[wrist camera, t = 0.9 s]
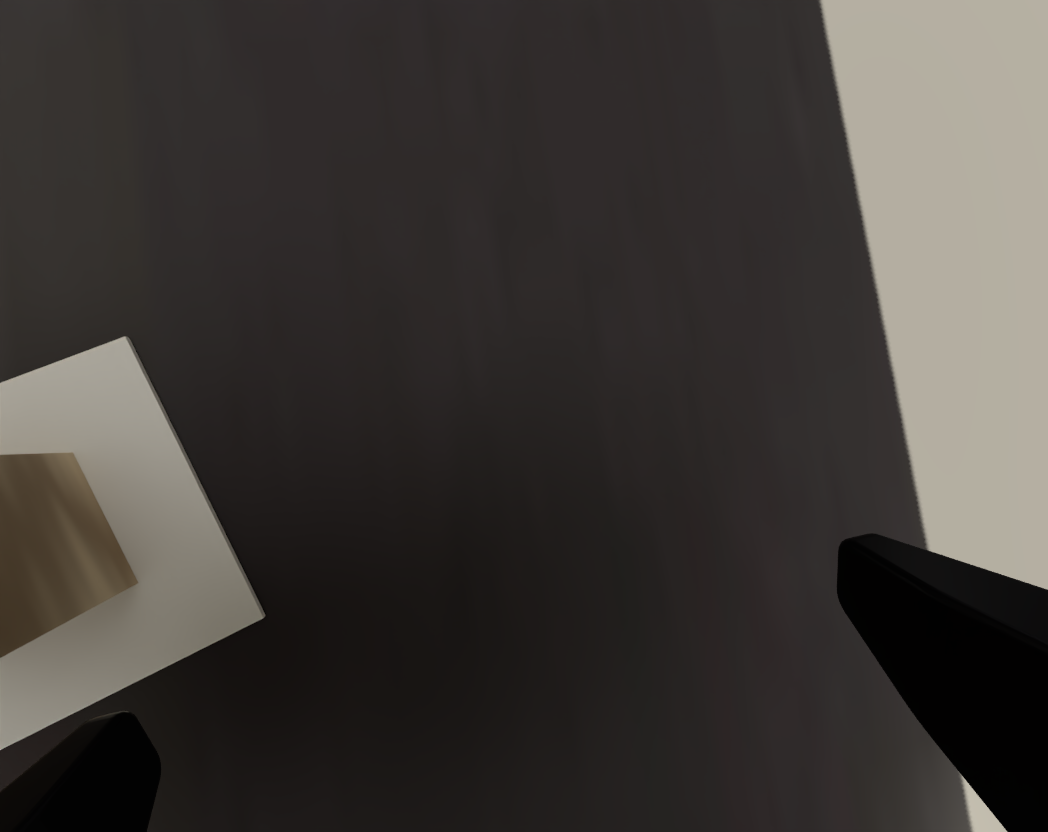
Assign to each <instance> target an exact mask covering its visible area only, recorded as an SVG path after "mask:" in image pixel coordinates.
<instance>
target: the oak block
mask: <svg viewBox="0 0 1048 832" xmlns="http://www.w3.org/2000/svg"><path fill="white" fill-rule="evenodd" d="M136 584H138V581H137V579H136V577H135V575H134V573H133V571H132V569H131V567H130V565H129V563H128V561H127V559H126V557H125V555H124V553H123V551H122V549H121V547H120V545H119V543H118V541H117V539H116V537H115V535H114V533H113V531H112V529H111V527H110V525H109V523H108V521H107V519H106V517H105V516H104V514H103V512H102V510H101V508H100V506H99V504H98V502H97V500H96V498H95V496H94V494H93V492H92V490H91V488H90V486H89V484H88V482H87V480H86V478H85V476H84V474H83V472H82V470H81V468H80V466H79V464H78V462H77V460H76V458H75V456H74V454H73V452H71V453H39V454H7V455H0V658H1V657H3V656H5V655H7V654H9V653H10V652H12V651H14V650H16V649H18V648H20V647H21V646H23V645H25V644H27V643H29V642H31V641H33V640H34V639H36V638H38V637H40V636H42V635H44V634H45V633H47V632H49V631H51V630H53V629H55V628H56V627H58V626H60V625H62V624H64V623H66V622H68V621H69V620H71V619H73V618H75V617H77V616H79V615H80V614H82V613H84V612H86V611H88V610H90V609H91V608H93V607H95V606H97V605H99V604H101V603H103V602H104V601H106V600H108V599H110V598H112V597H114V596H115V595H117V594H119V593H121V592H123V591H125V590H126V589H128V588H130V587H132V586H134V585H136Z"/></svg>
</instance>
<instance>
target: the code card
mask: <svg viewBox="0 0 1048 832" xmlns="http://www.w3.org/2000/svg"><path fill="white" fill-rule="evenodd" d="M71 452H73V454H74V456H75V458H76V460H77V462H78V464H79V466H80V468H81V470H82V472H83V474H84V476H85V478H86V480H87V482H88V484H89V486H90V488H91V490H92V492H93V494H94V496H95V498H96V500H97V502H98V504H99V506H100V508H101V510H102V512H103V514H104V516H105V517H106V519H107V521H108V523H109V525H110V527H111V529H112V531H113V533H114V535H115V537H116V539H117V541H118V543H119V545H120V547H121V549H122V551H123V553H124V555H125V557H126V559H127V561H128V563H129V565H130V567H131V569H132V571H133V573H134V575H135V577H136V579H137V581H138V584H136V585H134V586H132V587H130V588H128V589H126V590H125V591H123V592H121V593H119V594H117V595H115V596H114V597H112V598H110V599H108V600H106V601H104V602H103V603H101V604H99V605H97V606H95V607H93V608H91V609H90V610H88V611H86V612H84V613H82V614H80V615H79V616H77V617H75V618H73V619H71V620H69V621H68V622H66V623H64V624H62V625H60V626H58V627H56V628H55V629H53V630H51V631H49V632H47V633H45V634H44V635H42V636H40V637H38V638H36V639H34V640H33V641H31V642H29V643H27V644H25V645H23V646H21V647H20V648H18V649H16V650H14V651H12V652H10V653H9V654H7V655H5V656H3V657H1V658H0V750H1V749H3V748H5V747H7V746H9V745H11V744H13V743H15V742H17V741H19V740H21V739H23V738H25V737H27V736H29V735H31V734H33V733H35V732H37V731H39V730H41V729H43V728H45V727H47V726H49V725H51V724H53V723H55V722H57V721H59V720H61V719H63V718H65V717H67V716H69V715H71V714H73V713H75V712H77V711H79V710H81V709H83V708H85V707H87V706H89V705H91V704H93V703H95V702H97V701H99V700H101V699H103V698H105V697H107V696H109V695H111V694H113V693H115V692H117V691H119V690H121V689H123V688H125V687H127V686H129V685H131V684H133V683H135V682H137V681H139V680H141V679H143V678H145V677H147V676H149V675H151V674H153V673H155V672H157V671H159V670H161V669H163V668H165V667H167V666H169V665H171V664H173V663H175V662H177V661H179V660H181V659H183V658H185V657H187V656H189V655H191V654H193V653H195V652H197V651H199V650H201V649H203V648H205V647H207V646H209V645H211V644H213V643H215V642H217V641H219V640H221V639H223V638H225V637H227V636H229V635H231V634H233V633H235V632H237V631H239V630H241V629H243V628H245V627H247V626H249V625H251V624H253V623H255V622H257V621H259V620H261V619H263V618H264V617H265V616H266V615H265V613H264V611H263V609H262V607H261V605H260V603H259V601H258V599H257V597H256V595H255V592H254V590H253V588H252V586H251V584H250V582H249V580H248V578H247V576H246V574H245V572H244V570H243V568H242V566H241V564H240V562H239V560H238V558H237V556H236V554H235V552H234V550H233V548H232V546H231V544H230V542H229V540H228V538H227V536H226V533H225V531H224V529H223V527H222V525H221V523H220V521H219V519H218V517H217V515H216V513H215V511H214V509H213V507H212V505H211V503H210V501H209V499H208V497H207V495H206V493H205V491H204V489H203V487H202V485H201V483H200V481H199V479H198V476H197V474H196V472H195V470H194V468H193V466H192V464H191V462H190V460H189V458H188V456H187V454H186V452H185V450H184V448H183V446H182V444H181V442H180V440H179V438H178V436H177V434H176V432H175V430H174V428H173V426H172V424H171V422H170V419H169V417H168V415H167V413H166V411H165V409H164V407H163V405H162V403H161V401H160V399H159V397H158V395H157V393H156V391H155V389H154V387H153V385H152V383H151V381H150V379H149V377H148V375H147V373H146V371H145V369H144V367H143V365H142V362H141V360H140V358H139V356H138V354H137V352H136V350H135V348H134V346H133V344H132V342H131V340H130V338H128V337H126V336H125V337H122V338H119V339H117V340H114V341H111V342H109V343H106V344H103V345H101V346H98V347H95V348H93V349H90V350H87V351H85V352H82V353H79V354H77V355H74V356H71V357H69V358H66V359H63V360H61V361H58V362H55V363H53V364H50V365H47V366H45V367H42V368H39V369H37V370H34V371H31V372H29V373H26V374H23V375H20V376H18V377H15V378H12V379H10V380H7V381H4V382H2V383H0V455H7V454H39V453H71Z"/></svg>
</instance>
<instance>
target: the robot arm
mask: <svg viewBox="0 0 1048 832" xmlns="http://www.w3.org/2000/svg"><path fill="white" fill-rule="evenodd" d="M837 594H838V599H839V602H840V604H841V606H842V608H843V610H844V612H845V613H846V615H847V616H848V618H849V619H850V621H851V622H852V624H853V625H854V627H855V628H856V630H857V631H858V633H859V634H860V636H861V637H862V639H863V640H864V642H865V643H866V644H867V646H868V647H869V649H870V650H871V652H872V653H873V655H874V656H875V658H876V659H877V661H878V662H879V664H880V665H881V667H882V668H883V670H884V671H885V673H886V674H887V676H888V677H889V679H890V680H891V682H892V683H893V685H894V686H895V688H896V689H897V691H898V692H899V694H900V695H901V697H902V698H903V700H904V701H905V703H906V704H907V705H908V707H909V708H910V710H911V711H912V713H913V714H914V715H915V717H916V718H917V720H918V721H919V722H920V723H921V725H922V726H923V727H924V729H925V730H926V731H927V732H928V734H929V735H930V736H931V738H932V739H933V740H934V741H935V743H936V744H937V745H938V746H939V748H940V749H941V750H942V751H943V752H944V754H945V755H946V756H947V757H948V759H949V760H950V761H951V762H952V764H953V765H954V766H955V767H956V769H957V770H958V771H959V772H960V773H961V775H962V776H963V777H964V778H965V780H966V781H967V782H968V783H969V785H970V786H971V787H972V788H973V789H974V791H975V792H976V793H977V794H978V795H979V797H980V798H981V799H982V801H983V802H984V803H985V804H986V806H987V807H988V808H989V809H990V811H991V812H992V813H993V814H994V815H995V817H996V818H997V819H998V820H999V822H1000V823H1001V824H1002V825H1003V827H1004V828H1005V829H1006V830H1007V832H1048V590H1047V589H1044V588H1041V587H1037V586H1034V585H1031V584H1029V583H1025V582H1022V581H1019V580H1016V579H1013V578H1010V577H1007V576H1004V575H1001V574H998V573H995V572H992V571H988V570H986V569H983V568H980V567H976V566H973V565H970V564H967V563H964V562H961V561H958V560H955V559H952V558H949V557H946V556H943V555H940V554H937V553H933V552H931V551H928V550H925V549H921V548H918V547H915V546H912V545H909V544H906V543H903V542H900V541H897V540H894V539H891V538H888V537H885V536H882V535H878V534H873V533H871V534H865V535H860V536H856V537H852V538H848V539H845V540H844V541H842V542H841V544H840V546H839V550H838V572H837ZM160 775H161V762H160V758H159V755H158V753H157V751H156V749H155V748H154V746H153V744H152V743H151V741H150V739H149V738H148V736H147V734H146V733H145V731H144V729H143V728H142V726H141V724H140V723H139V721H138V719H137V718H136V716H135V715H134V714H132V713H130V712H128V711H120V712H115V713H111V714H107V715H103V716H99V717H95V718H92V719H90V720H88V721H86V722H85V723H84V724H82V725H81V726H80V727H79V728H78V729H76V730H75V731H74V732H73V733H71V734H70V735H69V736H68V737H67V738H65V739H64V740H63V741H62V742H60V743H59V744H58V745H57V746H56V747H54V748H53V749H52V750H51V751H50V752H48V753H47V754H46V755H45V756H43V757H42V758H41V759H40V760H39V761H37V762H36V763H35V764H34V765H32V766H31V767H30V768H29V769H28V770H26V771H25V772H24V773H23V774H22V775H20V776H19V777H18V778H17V779H15V780H14V781H13V782H12V783H11V784H9V785H8V786H7V787H6V788H4V789H3V790H2V791H1V792H0V832H147V828H148V824H149V820H150V816H151V812H152V808H153V804H154V800H155V797H156V793H157V789H158V785H159V781H160Z"/></svg>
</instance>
